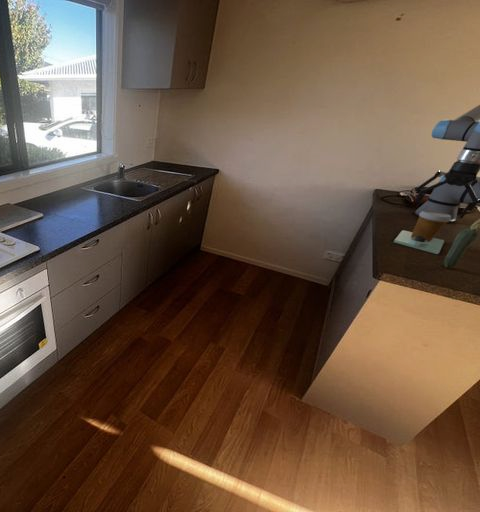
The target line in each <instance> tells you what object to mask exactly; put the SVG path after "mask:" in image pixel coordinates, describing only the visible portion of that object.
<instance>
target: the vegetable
mask: <svg viewBox="0 0 480 512" xmlns="http://www.w3.org/2000/svg"><path fill="white" fill-rule="evenodd" d="M478 229H480V217H479V218H478V219H477V220H475V222H474V223H473V224H471V226H470V227H467V228H464V229H462V230H461V231H460V232H459V233H457V236H456V237H455V239H454V240H453V242H452V245H451V247H450V248H449V250H448V251H447V254H446V255H445V258H444V261H443V265H444V267H445V268H448V269H452V268H453V267H455V266H456V265H458V264H459V262H460V261H461V259H462V257H463V255H464V253H465V252H466V250H467V249H468V248H469V247H470V246H471V245H472V244H473V243H474V242H475V241H476V240H477V238H478V237H479V230H478Z"/></svg>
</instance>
